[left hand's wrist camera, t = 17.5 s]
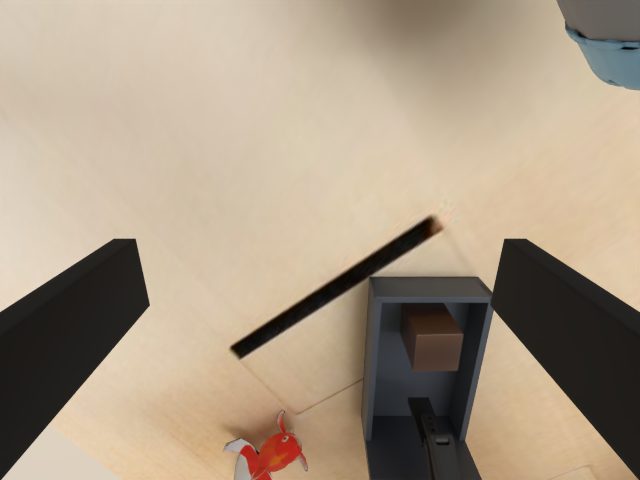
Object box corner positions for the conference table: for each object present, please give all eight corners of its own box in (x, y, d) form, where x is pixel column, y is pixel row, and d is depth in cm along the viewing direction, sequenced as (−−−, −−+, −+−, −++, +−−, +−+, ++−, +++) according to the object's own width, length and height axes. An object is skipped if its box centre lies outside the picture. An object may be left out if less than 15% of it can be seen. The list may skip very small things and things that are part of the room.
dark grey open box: (369, 276, 42) (383, 324, 33) (478, 276, 42) (522, 324, 33) (361, 416, 51) (370, 485, 42) (451, 416, 51) (480, 485, 42)
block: (402, 300, 43) (416, 335, 36) (441, 299, 43) (463, 334, 36) (399, 333, 45) (413, 371, 38) (437, 332, 45) (457, 371, 38)
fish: (339, 473, 49) (299, 540, 41) (266, 464, 58) (221, 517, 50) (310, 405, 48) (264, 458, 40) (241, 406, 57) (192, 450, 49)
